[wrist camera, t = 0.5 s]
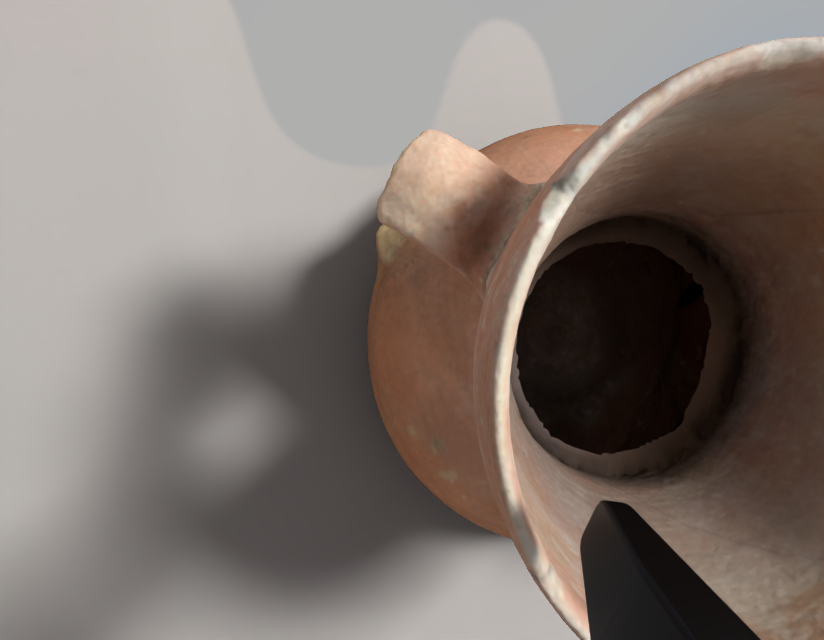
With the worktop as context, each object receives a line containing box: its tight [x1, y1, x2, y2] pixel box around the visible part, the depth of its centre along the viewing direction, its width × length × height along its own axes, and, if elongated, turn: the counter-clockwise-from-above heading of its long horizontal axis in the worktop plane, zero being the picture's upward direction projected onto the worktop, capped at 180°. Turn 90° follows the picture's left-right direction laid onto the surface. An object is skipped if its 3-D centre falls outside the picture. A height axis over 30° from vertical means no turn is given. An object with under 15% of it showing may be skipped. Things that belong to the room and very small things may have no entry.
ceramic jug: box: [367, 37, 824, 640], centre depth 18 cm, size 18×14×14 cm
